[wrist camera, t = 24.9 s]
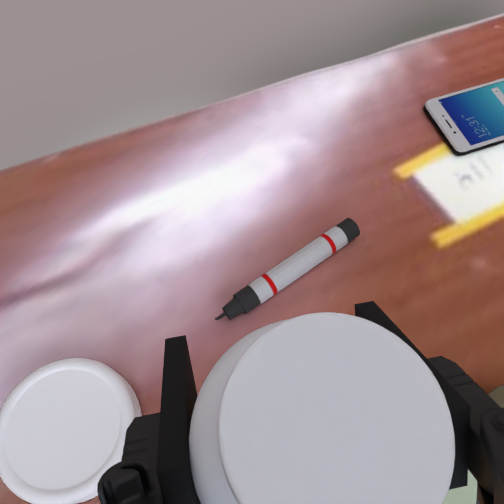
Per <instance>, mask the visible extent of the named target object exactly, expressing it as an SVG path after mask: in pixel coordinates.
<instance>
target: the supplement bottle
mask: <svg viewBox="0 0 504 504" xmlns="http://www.w3.org/2000/svg"><path fill="white" fill-rule="evenodd" d="M189 458H190V467H191V473H192V478H193V482H194V486H195V490H196V492H197V495H198V498H199V500H200V502H201V504H443V502H444V500H445V498H446V495H447V493H448V490H449V487H450V484H451V479H452V475H453V470H454V461H455V436H454V430H453V424H452V419H451V414H450V411H449V408H448V405H447V402H446V399H445V396H444V393H443V391H442V389H441V387H440V385H439V383H438V381H437V380H436V378H435V376H434V375H433V373H432V372H431V370H430V369H429V368H428V366H427V365H426V364H425V363H424V361H423V360H422V359H421V358H420V356H419V355H418V354H417V353H416V352H415V351H414V350H413V349H412V348H411V347H410V346H409V345H407V344H406V343H405V342H404V341H403V340H401V339H400V338H399V337H398V336H396V335H395V334H393V333H392V332H390V331H388V330H387V329H385V328H383V327H382V326H380V325H378V324H376V323H374V322H371V321H369V320H366V319H364V318H360V317H357V316H352V315H348V314H341V313H331V312H324V313H313V314H305V315H301V316H298V317H294V318H291V319H288V320H283V321H279V322H275V323H272V324H269V325H266V326H264V327H262V328H259V329H257V330H255V331H253V332H251V333H250V334H248V335H246V336H245V337H243V338H242V339H240V340H239V341H238V342H236V343H235V344H234V345H233V346H232V347H231V348H229V349H228V350H227V351H226V352H225V354H224V355H223V356H222V357H221V358H220V359H219V360H218V361H217V363H216V364H215V365H214V367H213V368H212V370H211V371H210V373H209V374H208V376H207V378H206V380H205V381H204V383H203V385H202V387H201V390H200V392H199V395H198V397H197V400H196V403H195V406H194V410H193V414H192V418H191V424H190V433H189Z"/></svg>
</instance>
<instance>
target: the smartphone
mask: <svg viewBox="0 0 504 504" xmlns="http://www.w3.org/2000/svg"><path fill="white" fill-rule="evenodd" d="M424 110H425V112H426V113H427V115H428V116H429V118H430V119H431V121H432V122H433V124H434V125H435V127H436V128H437V129H438V131H439V132H440V134H441V135H442V137H443V138H444V140H445V141H446V142H447V144H448V145H449V147H450V148H451V150H452V151H453V152H454V153H455V154H456V155H465V154H468V153H471V152H474V151H477V150H481V149H484V148H487V147H490V146H493V145H496V144H500V143H503V142H504V78H503V79H499V80H496V81H492V82H489V83H485V84H482V85H478V86H475V87H471V88H468V89H464V90H461V91H458V92H454V93H451V94H447V95H444V96H440V97H437V98H433V99H430V100H428V101H427V102H426V104H425V106H424Z"/></svg>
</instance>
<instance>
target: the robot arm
mask: <svg viewBox="0 0 504 504" xmlns="http://www.w3.org/2000/svg"><path fill="white" fill-rule="evenodd" d="M355 316H357V317H360V318H364V319H366V320H369V321H371V322H374V323H376V324H378V325H380V326H382V327H383V328H385V329H387V330H388V331H390V332H392V333H393V334H395V335H396V336H398V337H399V338H400V339H401V340H403V341H404V342H405V343H406V344H407V345H409V346H410V347H411V348H412V349H413V350H414V351H415V352H416V353H417V354H418V355H419V356H420V358H421V359H422V360H423V361H424V363H425V364H426V365H427V366H428V368H429V369H430V370H431V372H432V373H433V375H434V376H435V378H436V380H437V381H438V383H439V385H440V387H441V389H442V391H443V393H444V396H445V399H446V402H447V405H448V408H449V411H450V414H451V419H452V424H453V430H454V436H455V461H454V470H453V475H452V479H451V484H450V487H449V490H451V489H455V488H459V487H464V486H467V483H468V470H469V471H470V472H471V474H472V475H473V476H474V478H475V479H476V480H477V498H476V504H504V408H501V407H500V406H499V405H498V404H497V403H496V402H495V401H494V400H493V399H492V398H491V397H490V396H489V395H488V394H487V393H486V392H485V391H484V390H483V389H482V388H481V387H480V386H479V385H478V384H477V383H476V382H473V380H472V379H471V378H470V377H469V376H468V375H466V373H465V372H464V371H463V370H462V369H461V368H460V367H459V366H458V365H457V364H456V363H454V362H452V361H450V360H448V359H446V358H445V357H443V356H439V357H434V358H429V359H427V358H426V357H425V356H424V355H423V354H422V353H421V352H420V351H419V350H418V349H417V348H416V347H415V346H414V344H413V343H412V342H411V341H410V340H409V339H408V338H407V337H406V336H405V335H404V334H403V333H402V332H401V330H400V329H399V328H398V327H397V326H396V325H395V324H394V323H393V322H392V321H391V320H390V319H389V318H388V316H387V315H386V314H385V313H384V312H383V311H382V310H381V309H380V308H379V307H378V306H377V305H376V304H375V303H374V301H371V302H365V303H360V304H355ZM196 400H197V391H196V386H195V381H194V376H193V371H192V366H191V361H190V356H189V351H188V346H187V341H186V336H185V335H184V336H179V337H173V338H168V339H165V353H164V367H163V382H162V396H161V411H160V413H155V414H150V415H145V416H140V417H135V418H134V419H133V421H132V422H131V424H130V425H129V427H128V428H127V430H126V436H125V442H124V443H125V445H124V448H123V455H122V460H121V462H118V463H117V464H115V465H113V466H112V467H110V468H109V469H108V470H107V471H106V472H105V473H104V474H103V475H102V476H101V478H100V480H99V482H98V485H97V493H98V496H99V499H100V502H101V504H201V502H200V500H199V498H198V495H197V492H196V490H195V486H194V482H193V478H192V473H191V467H190V458H189V433H190V424H191V418H192V414H193V410H194V406H195V403H196Z"/></svg>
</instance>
